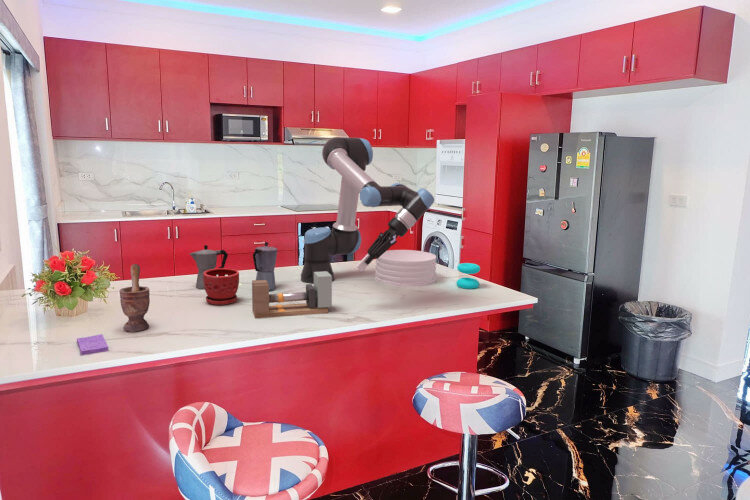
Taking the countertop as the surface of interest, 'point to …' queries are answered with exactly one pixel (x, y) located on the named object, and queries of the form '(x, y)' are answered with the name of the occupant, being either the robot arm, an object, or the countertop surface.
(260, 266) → the moka pot
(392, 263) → the plate stack
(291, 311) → the pipe rig
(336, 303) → the countertop surface
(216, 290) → the plant pot
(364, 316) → the countertop surface
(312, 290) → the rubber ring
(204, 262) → the coffeepot
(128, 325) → the mortar and pestle
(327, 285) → the sleeve
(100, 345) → the sponges
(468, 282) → the donuts
